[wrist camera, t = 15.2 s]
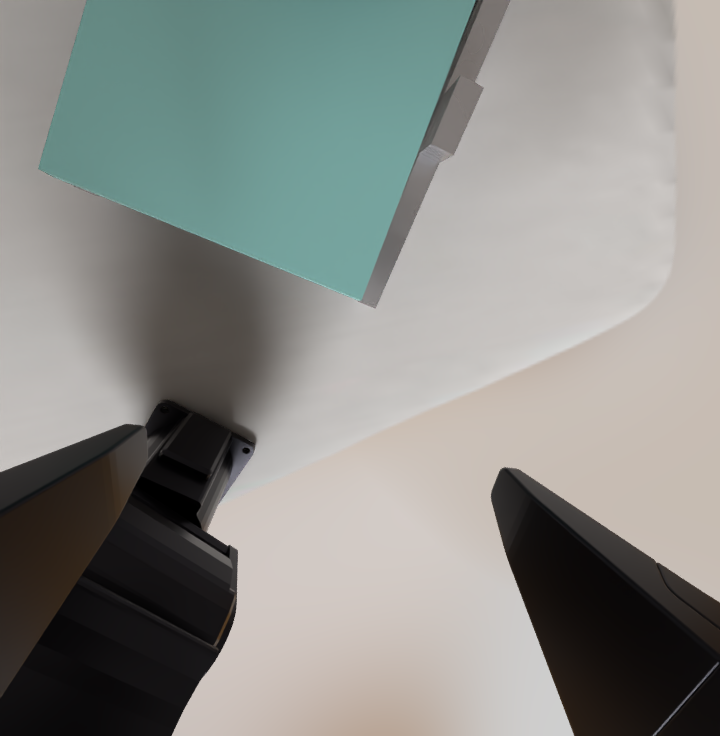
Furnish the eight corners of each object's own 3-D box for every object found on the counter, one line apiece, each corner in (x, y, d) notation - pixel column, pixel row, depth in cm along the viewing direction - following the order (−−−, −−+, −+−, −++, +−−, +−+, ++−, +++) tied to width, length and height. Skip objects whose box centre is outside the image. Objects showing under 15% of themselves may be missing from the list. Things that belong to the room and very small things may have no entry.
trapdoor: (354, 301, 17) (361, 300, 15) (74, 188, 14) (38, 168, 12) (491, -59, 15) (518, -114, 13) (204, -249, 13) (187, -347, 11)
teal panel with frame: (372, 301, 21) (379, 320, 17) (98, 189, 18) (33, 182, 14) (536, -79, 15) (602, -177, 11) (169, -332, 12) (93, -577, 8)
